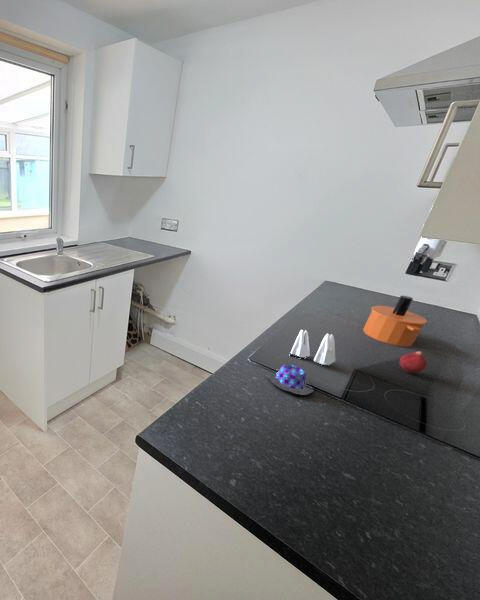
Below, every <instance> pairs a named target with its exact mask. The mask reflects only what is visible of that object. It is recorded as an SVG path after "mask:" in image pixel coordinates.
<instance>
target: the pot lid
mask: <svg viewBox="0 0 480 600" xmlns="http://www.w3.org/2000/svg"><path fill="white" fill-rule="evenodd" d="M413 301H414V298H413V297H411V296H408V295H400V296H399V298H398V300H397V302H396V304H395V306H394V307H393V306H388V305H373V306H372V307H371V311H373V312H375V313H376V314H378V315H380V316H383V317H385V318H388V319H391V320H394V321H398V322H402V323H407V324H414V325H423V326H424V325H427V323H428V320H427V319H426V318H425V317H423V316H421V315H419V314H416V313H414V312H412V311H409V308H410V306H411V304H412V302H413Z"/></svg>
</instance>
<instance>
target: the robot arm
mask: <svg viewBox="0 0 480 600" xmlns="http://www.w3.org/2000/svg"><path fill="white" fill-rule="evenodd" d="M432 207H433V205H432V206H431V208H430V210H431V209H432ZM425 222H426V220H425V221H424V223H423V227H425V226H424V224H425ZM447 243H448V241H445V240H438V239H429V238H422V236H421V237H420V239H419V241H418V243H417V245H416V247H415V249H414V252H413V258H412V259H411V261H410V263H409V265H408V267H407V269H406V270H405V274H406V275H410V276H415V277H417V276H419V275H420V273H421V272H422V273H428V272H429V270H430V269H431V266H432V264H433V262H434V260H435V259H437V258H439V257H441V256H442V254H443V251H444V249H445V247H446V245H447Z"/></svg>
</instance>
